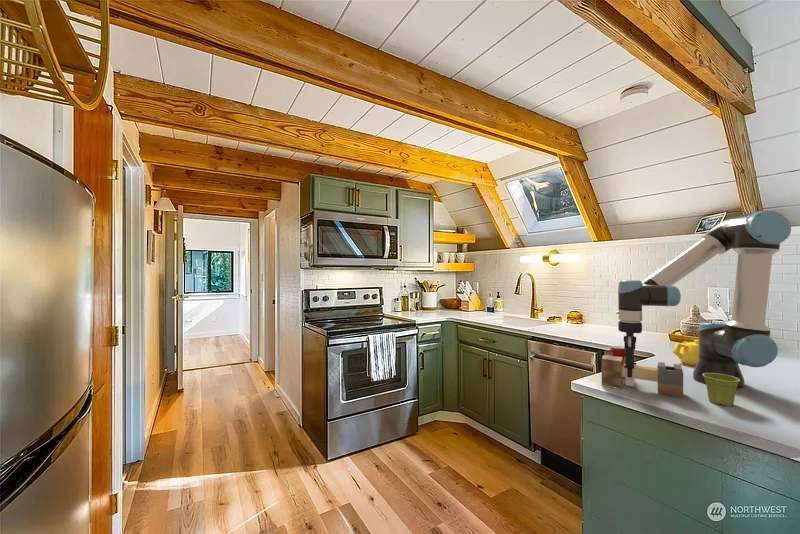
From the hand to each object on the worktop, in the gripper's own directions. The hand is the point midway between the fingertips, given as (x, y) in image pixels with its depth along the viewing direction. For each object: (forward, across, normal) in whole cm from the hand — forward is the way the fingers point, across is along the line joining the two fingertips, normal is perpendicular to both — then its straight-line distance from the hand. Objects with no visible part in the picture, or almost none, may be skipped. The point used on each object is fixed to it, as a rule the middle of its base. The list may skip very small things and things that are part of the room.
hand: (629, 383), depth 134 cm
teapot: (+2, -58, +24) cm, 63 cm away
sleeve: (+1, 0, +12) cm, 12 cm away
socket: (+1, 0, -6) cm, 6 cm away
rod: (-3, 0, +1) cm, 3 cm away
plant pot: (+2, +1, +26) cm, 26 cm away
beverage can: (+2, -14, -4) cm, 15 cm away
